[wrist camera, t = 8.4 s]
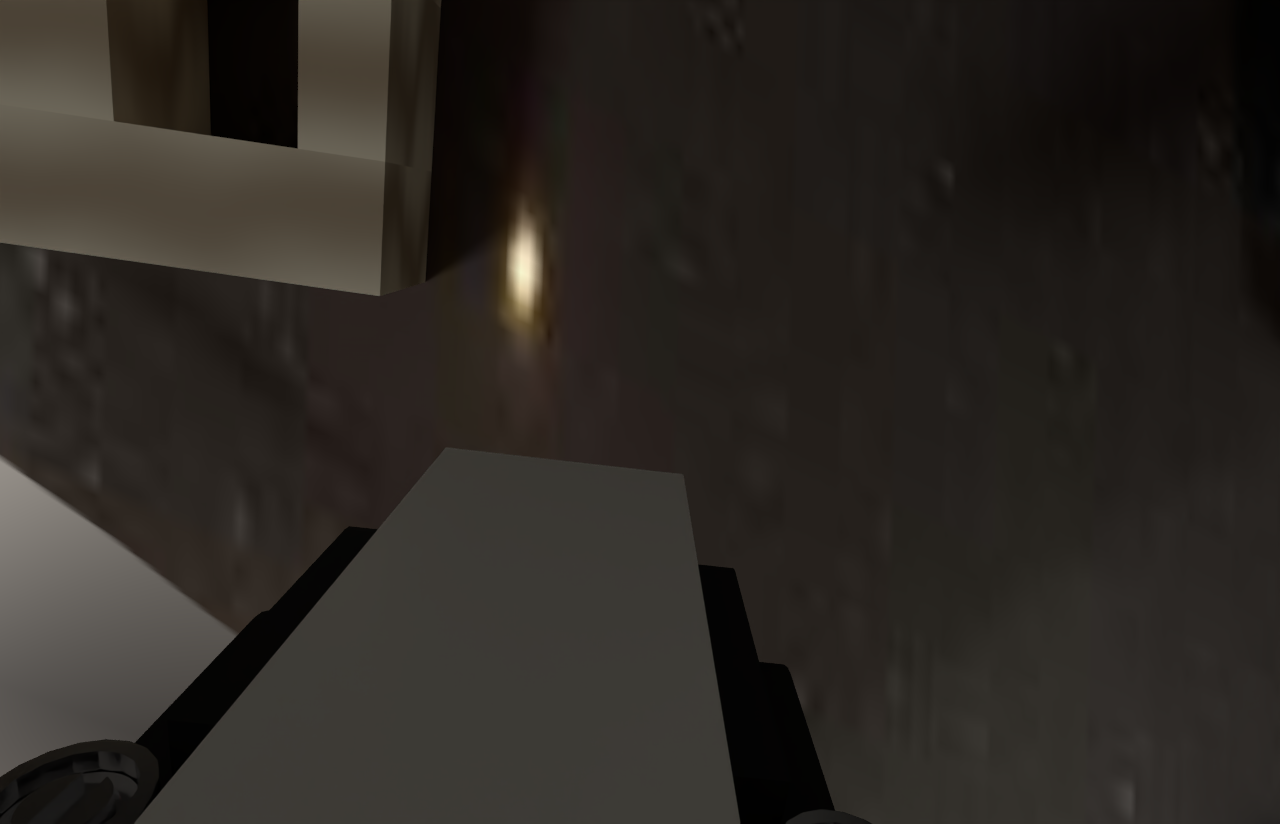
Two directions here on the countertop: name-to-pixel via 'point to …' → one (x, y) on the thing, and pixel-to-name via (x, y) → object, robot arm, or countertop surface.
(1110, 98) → the countertop surface
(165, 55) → the socket block
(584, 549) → the plug
